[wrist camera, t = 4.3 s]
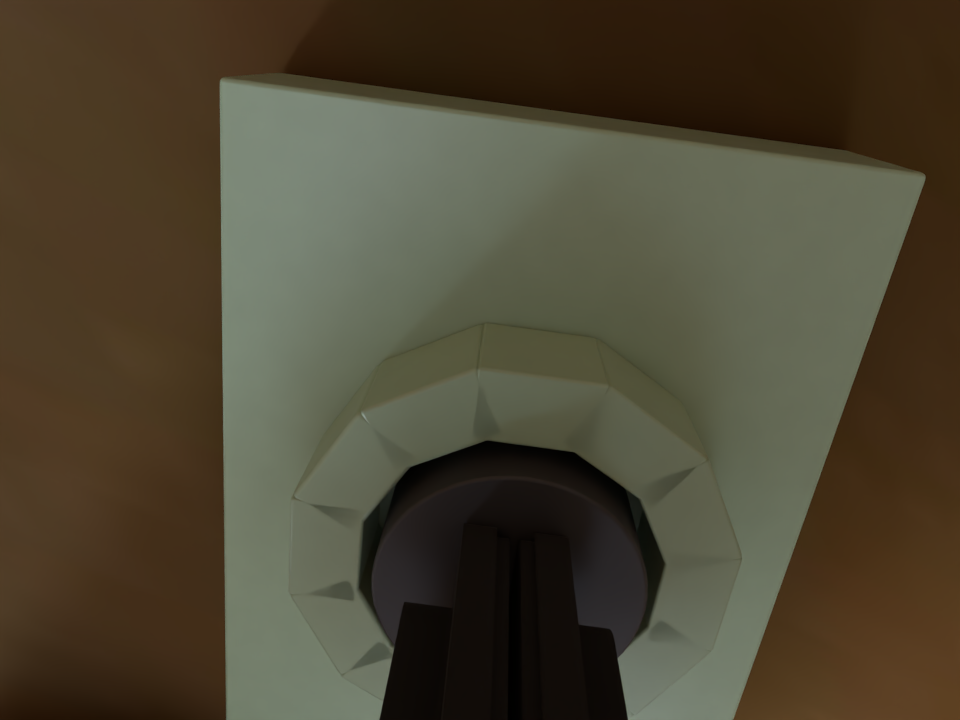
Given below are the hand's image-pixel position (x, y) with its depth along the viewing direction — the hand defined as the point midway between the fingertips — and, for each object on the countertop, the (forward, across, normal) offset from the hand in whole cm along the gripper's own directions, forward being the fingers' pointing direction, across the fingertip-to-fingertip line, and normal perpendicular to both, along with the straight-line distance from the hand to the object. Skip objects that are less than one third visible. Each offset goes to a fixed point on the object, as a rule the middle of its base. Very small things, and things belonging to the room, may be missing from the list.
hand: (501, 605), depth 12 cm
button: (+2, 0, 0) cm, 2 cm away
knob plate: (+6, 0, 0) cm, 6 cm away
